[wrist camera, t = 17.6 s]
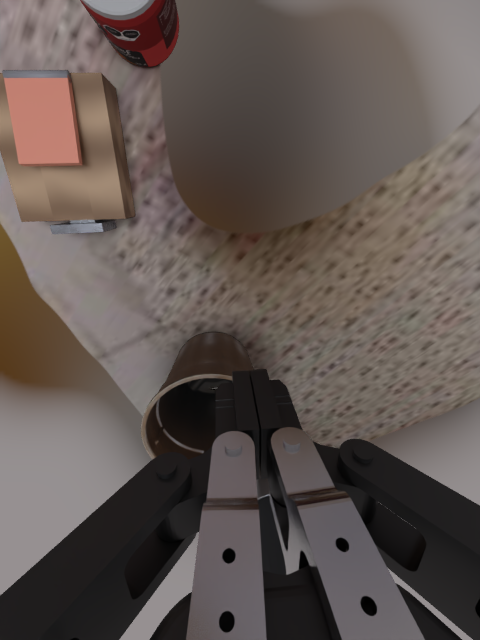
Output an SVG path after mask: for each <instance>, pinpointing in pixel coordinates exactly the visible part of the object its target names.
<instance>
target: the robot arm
mask: <svg viewBox="0 0 480 640" xmlns="http://www.w3.org/2000/svg"><path fill="white" fill-rule="evenodd" d="M380 503H381V504H380ZM383 505H384V506H385V507H384V506H383ZM387 508H388V509H387ZM390 510H391V511H390ZM394 513H395V514H394ZM397 515H398V516H397ZM400 517H401V518H402V519H401V518H400ZM404 520H405V521H404ZM407 522H408V523H407ZM410 524H411V525H412V526H411V525H410ZM414 527H415V528H414ZM197 532H199V539H198V546H197V555H196V563H195V571H194V579H193V587H192V592H191V593H189V594H188V595H187V596H185V597H184V598H183V599H182V600H180V601H179V602H178V603H177V604H176V605H175V606H174V607H173V608H172V609H171V610H170V611H169V613H168V614H167V615H166V616H165V618H164V619H163V620H162V622H161V623H160V625H159V626H158V627H157V629H156V631H155V632H154V634H153V635H152V637H151V638H150V640H462V639H461V638H460V637H459V636H457V635H456V634H455V633H454V632H453V631H452V630H451V629H450V628H448V627H447V626H446V625H445V624H444V623H443V622H442V621H441V620H440V619H438V618H437V617H436V616H435V615H434V614H433V613H432V612H431V611H430V610H428V609H427V608H426V607H425V606H424V605H423V604H422V603H421V602H420V601H418V600H417V599H416V598H415V597H414V596H413V595H411V594H410V593H409V592H408V591H406V590H405V589H404V588H402V587H401V586H400V585H398V584H396V583H395V582H394V580H393V578H392V576H391V574H390V572H389V570H388V568H389V569H390V570H391V571H392V572H394V573H395V574H396V575H397V576H398V577H399V578H400V579H402V580H403V581H404V582H405V583H406V584H408V585H409V586H410V587H411V588H412V589H414V590H415V591H416V592H417V593H418V594H419V595H421V596H422V597H423V598H424V599H425V600H427V601H428V602H429V603H430V604H431V605H433V606H434V607H435V608H436V609H437V610H438V611H440V612H441V613H442V614H443V615H444V616H446V617H447V618H448V619H449V620H450V621H452V622H453V623H454V624H455V625H456V626H458V627H459V628H460V629H461V630H462V631H463V632H465V633H466V634H467V635H468V636H469V637H471V638H472V639H473V640H480V506H479V505H478V504H476V503H474V502H472V501H471V500H469V499H467V498H466V497H464V496H462V495H460V494H459V493H457V492H455V491H453V490H452V489H450V488H448V487H447V486H445V485H443V484H441V483H439V482H438V481H436V480H434V479H432V478H431V477H429V476H427V475H426V474H424V473H422V472H420V471H418V470H417V469H415V468H414V467H412V466H410V465H408V464H407V463H405V462H403V461H401V460H400V459H398V458H396V457H394V456H393V455H391V454H389V453H388V452H386V451H384V450H382V449H381V448H379V447H377V446H375V445H374V444H372V443H370V442H367V441H365V440H361V439H350V440H347V441H345V442H343V443H342V445H341V446H340V449H338V448H333V447H328V446H323V445H320V444H317V443H315V442H313V441H312V439H311V438H310V436H309V435H308V434H307V433H306V432H304V431H303V430H302V428H301V425H300V422H299V419H298V417H297V414H296V411H295V409H294V406H293V404H292V400H291V398H290V395H289V392H288V389H287V387H286V386H285V385H284V384H283V383H282V382H281V381H280V380H269V377H268V373H267V370H266V369H258V370H250V371H249V370H242V371H232V383H221V384H220V385H219V387H218V388H217V390H216V435H215V441H214V443H213V445H212V446H211V448H210V449H209V450H207V451H206V452H205V453H203V454H201V455H199V456H197V457H194V458H191V459H187V458H186V457H185V456H184V455H182V454H180V453H177V452H168V453H164V454H161V455H159V456H157V457H155V458H154V459H153V460H152V461H150V462H149V463H148V464H147V465H146V466H145V467H144V468H143V469H142V470H140V471H139V472H138V473H137V474H136V475H135V476H134V477H133V478H131V479H130V480H129V481H128V482H127V483H126V484H125V485H124V486H122V487H121V488H120V489H119V490H118V491H117V492H116V493H115V494H114V495H112V496H111V497H110V498H109V499H108V500H107V501H106V502H105V503H103V504H102V505H101V506H100V507H99V508H98V509H97V510H96V511H95V512H93V513H92V514H91V515H90V516H89V517H88V518H87V519H86V520H85V521H83V522H82V523H81V524H80V525H79V526H78V527H77V528H76V529H74V530H73V531H72V532H71V533H70V534H69V535H68V536H67V537H65V538H64V539H63V540H62V541H61V542H60V543H59V544H58V545H57V546H55V547H54V549H52V550H51V551H50V552H49V553H48V554H46V555H45V556H44V557H43V558H42V559H41V560H40V561H39V562H38V563H36V565H34V566H33V567H32V568H31V569H30V570H29V571H27V572H26V573H25V574H24V575H23V576H22V577H21V578H20V579H18V580H17V581H16V582H15V583H14V584H13V585H12V586H11V587H10V588H8V589H7V590H6V591H5V592H4V593H3V594H2V595H1V596H0V640H119V639H120V638H121V636H122V635H123V634H124V632H125V631H126V630H127V628H128V627H129V625H130V624H131V623H132V622H133V620H134V619H135V617H136V616H137V615H138V614H139V612H140V611H141V610H142V608H143V607H144V605H145V604H146V603H147V601H148V600H149V599H150V597H151V596H152V595H153V593H154V592H155V591H156V589H157V588H158V587H159V585H160V584H161V582H162V581H163V580H164V579H165V577H166V576H167V575H168V573H169V572H170V571H171V569H172V568H173V566H174V565H175V564H176V563H177V561H178V560H179V559H180V557H181V556H182V554H183V553H184V552H185V550H186V549H187V548H188V546H189V545H190V544H191V542H192V541H193V539H194V538H195V536H196V533H197Z"/></svg>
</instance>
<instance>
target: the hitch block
mask: <svg viewBox="0 0 480 640" xmlns="http://www.w3.org/2000/svg"><path fill="white" fill-rule="evenodd" d="M70 75H71V79H72V90H73V97H74V105H75V112H76V119H77V127H78V134H79V142H80V149H81V157H82V164H83V165H75V166H22V165H20V164H19V162H18V156H17V150H16V145H15V139H14V133H13V127H12V122H11V116H10V110H9V104H8V99H7V93H6V87H5V82H4V77H3V74H2V73H0V151H1V155H2V158H3V161H4V165H5V168H6V171H7V175H8V178H9V181H10V185H11V188H12V191H13V194H14V198H15V201H16V204H17V208H18V211H19V214H20V218H21V221H22V222H30V221H63V220H97V219H126V218H130V217H134V216H135V211H134V204H133V198H132V191H131V185H130V178H129V172H128V166H127V159H126V153H125V146H124V140H123V133H122V127H121V120H120V114H119V107H118V101H117V95H116V88H115V87H114V86H113V85H112V84H111V83H110V82H109V81H108V80H107V79H106V78H105V77H104V75H103V74H102V73H70Z"/></svg>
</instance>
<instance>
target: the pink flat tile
mask: <svg viewBox="0 0 480 640" xmlns="http://www.w3.org/2000/svg"><path fill="white" fill-rule="evenodd" d="M2 74H3V77H4V82H5V87H6V93H7V99H8V104H9V110H10V116H11V122H12V127H13V133H14V139H15V145H16V150H17V156H18V162H19V164H20V165H22V166H75V165H83V164H82V157H81V149H80V142H79V134H78V127H77V119H76V112H75V105H74V97H73V90H72V79H71V75H70V73H69V71H68V70H3V71H2Z"/></svg>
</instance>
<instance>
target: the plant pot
mask: <svg viewBox="0 0 480 640" xmlns="http://www.w3.org/2000/svg"><path fill="white" fill-rule="evenodd" d="M242 370H249V371H250V370H254V369H253V367H252V364H251V361H250V359H249V356H248V353H247V351H246V349H245V347H244V346H243V345H242V344H241V343H240V342H239V341H237V340H236V339H234V338H233V337H232V336H230V335H228V334H225V333H220V332H208V333H203V334H199V335H197V336H194V337H193V338H191V339H190V340H188V341H187V342H186V344H185V345H184V346H183V347H182V348H181V350H180V351H179V354H178V357H177V359H176V361H175V363H174V365H173V367H172V370H171V372H170V374H169V376H168V378H167V381H166V382H165V383H164V384H163V385H162V387H161V388H160V390H159V392H158V393H157V394H156V395H155V397H154V398H153V399H152V400H151V402H150V403H149V405H148V407H147V409H146V411H145V413H144V415H143V419H142V423H141V436H142V441H143V444H144V446H145V449H146V451H147V452H148V454H149V455H150V457H151V458H152V459H154V458H155V457H157V456H159V455H161V454H164V453H168V452H177V453H180V454H182V455H184V456H185V457H186V458H187V459H191V458H194V457H197V456H199V455H201V454H203V453H205V452H206V451H207V450H209V449H210V448H211V446H212V445H213V443H214V441H215V435H216V390H210V388H214V387H219V385H220V384H221V383H232V371H242Z"/></svg>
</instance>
